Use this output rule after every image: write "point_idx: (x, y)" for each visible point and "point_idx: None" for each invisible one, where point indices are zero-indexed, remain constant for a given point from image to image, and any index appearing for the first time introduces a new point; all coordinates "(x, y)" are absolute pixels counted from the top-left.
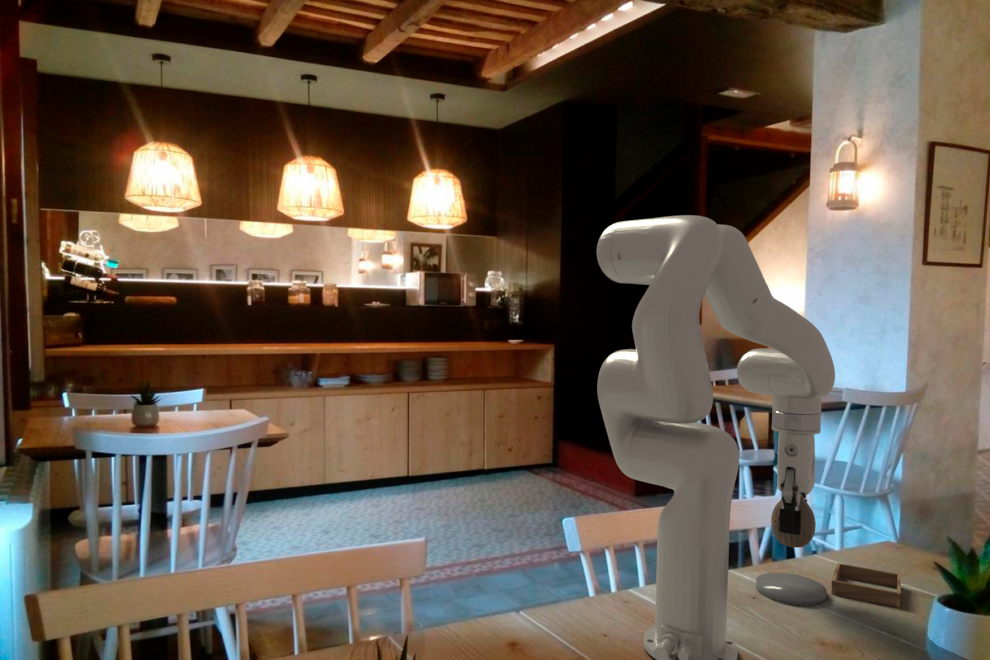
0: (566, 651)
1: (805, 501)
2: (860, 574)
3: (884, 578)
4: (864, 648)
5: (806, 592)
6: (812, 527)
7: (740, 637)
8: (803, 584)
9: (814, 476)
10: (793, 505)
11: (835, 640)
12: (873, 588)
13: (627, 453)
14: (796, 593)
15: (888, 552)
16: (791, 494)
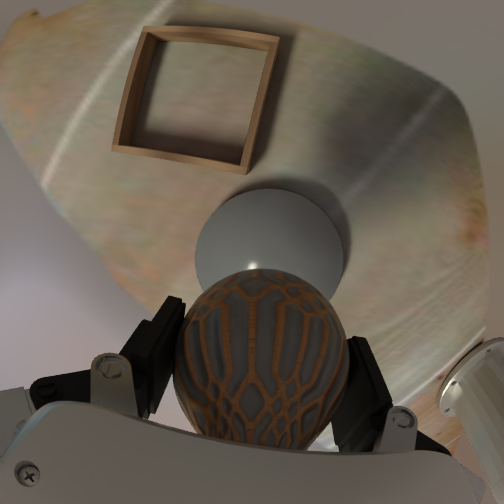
0: (458, 439)
1: (271, 399)
2: (134, 103)
3: (146, 57)
4: (475, 175)
5: (306, 237)
6: (321, 301)
7: (458, 338)
8: (256, 237)
9: (99, 475)
10: (432, 441)
11: (462, 213)
12: (265, 85)
13: None
14: (319, 259)
15: (7, 75)
16: (478, 478)
